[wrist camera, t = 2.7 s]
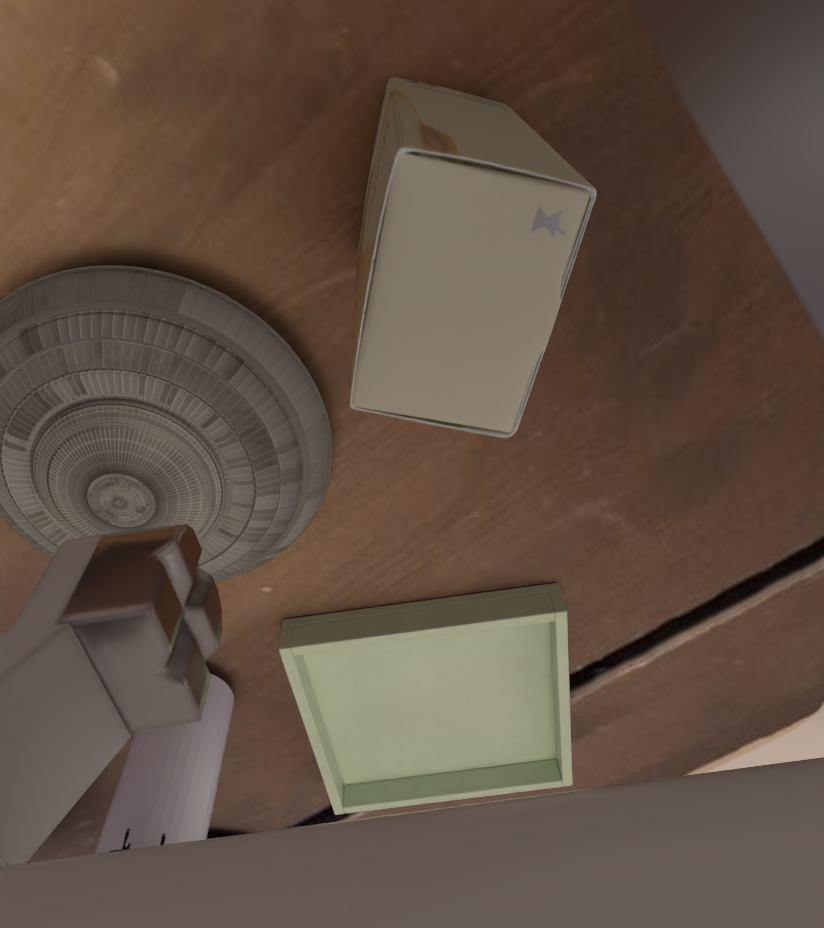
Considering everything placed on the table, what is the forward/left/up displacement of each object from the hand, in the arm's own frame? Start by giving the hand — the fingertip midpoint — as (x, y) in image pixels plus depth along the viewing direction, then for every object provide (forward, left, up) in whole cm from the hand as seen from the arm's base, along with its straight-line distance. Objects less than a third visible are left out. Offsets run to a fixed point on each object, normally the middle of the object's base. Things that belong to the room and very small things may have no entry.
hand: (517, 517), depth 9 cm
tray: (+3, +27, -20) cm, 34 cm away
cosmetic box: (0, 0, -20) cm, 20 cm away
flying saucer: (+13, +8, -20) cm, 25 cm away
